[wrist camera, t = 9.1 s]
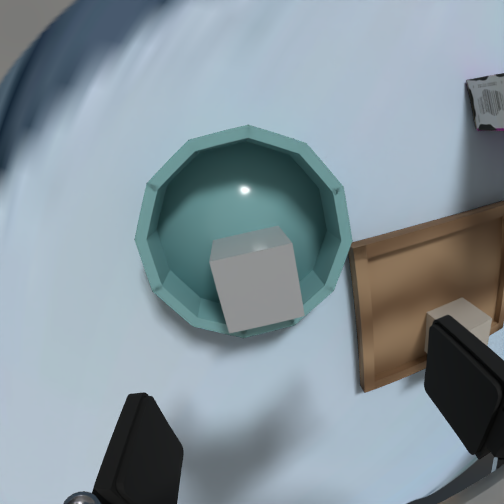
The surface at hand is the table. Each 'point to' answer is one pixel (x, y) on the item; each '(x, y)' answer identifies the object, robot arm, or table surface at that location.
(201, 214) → the bowl
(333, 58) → the table surface
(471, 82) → the candy bar box
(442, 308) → the beige square block
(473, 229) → the tray
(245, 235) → the light grey cube
